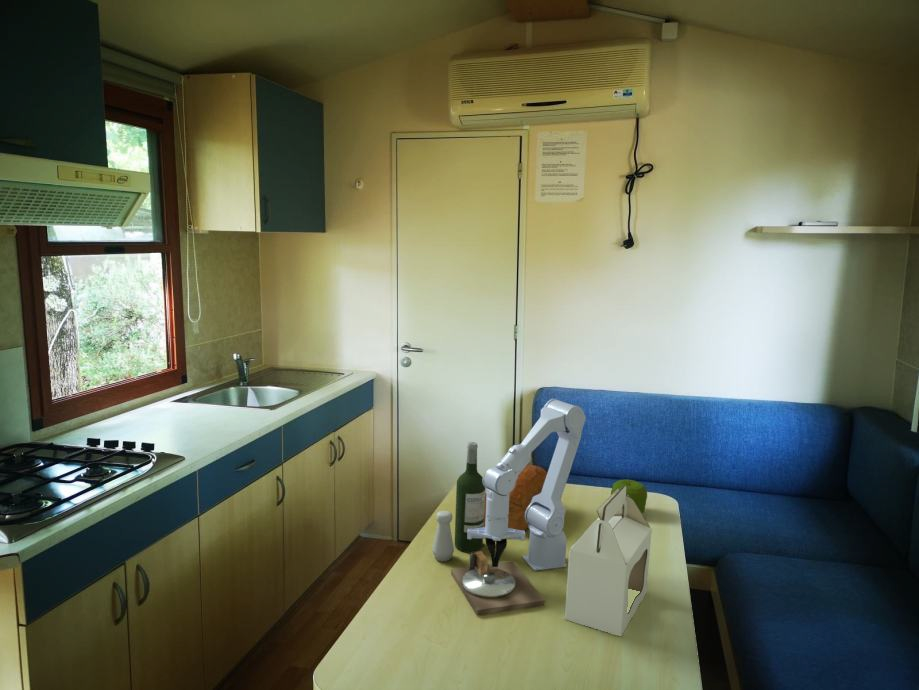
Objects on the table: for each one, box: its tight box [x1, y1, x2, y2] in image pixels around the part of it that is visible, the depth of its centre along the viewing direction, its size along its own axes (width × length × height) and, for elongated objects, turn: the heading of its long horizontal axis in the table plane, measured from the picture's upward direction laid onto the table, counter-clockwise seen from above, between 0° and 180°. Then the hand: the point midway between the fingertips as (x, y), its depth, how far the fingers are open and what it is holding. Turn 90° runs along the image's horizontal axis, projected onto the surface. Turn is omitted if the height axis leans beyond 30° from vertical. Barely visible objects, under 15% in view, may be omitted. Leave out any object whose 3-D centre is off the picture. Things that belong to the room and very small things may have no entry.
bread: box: [484, 464, 548, 531], centre depth 215 cm, size 16×27×16 cm, turn 152°
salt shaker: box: [432, 510, 455, 562], centre depth 187 cm, size 6×6×13 cm
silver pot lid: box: [462, 550, 515, 598], centre depth 172 cm, size 15×13×5 cm
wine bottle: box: [454, 441, 485, 553], centre depth 193 cm, size 8×8×30 cm
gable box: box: [564, 486, 653, 635], centre depth 164 cm, size 22×13×28 cm, turn 151°
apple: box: [610, 479, 648, 517], centre depth 222 cm, size 11×11×11 cm
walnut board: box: [450, 552, 546, 617], centre depth 172 cm, size 17×20×6 cm
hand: (494, 565), depth 178 cm, fingers closed
